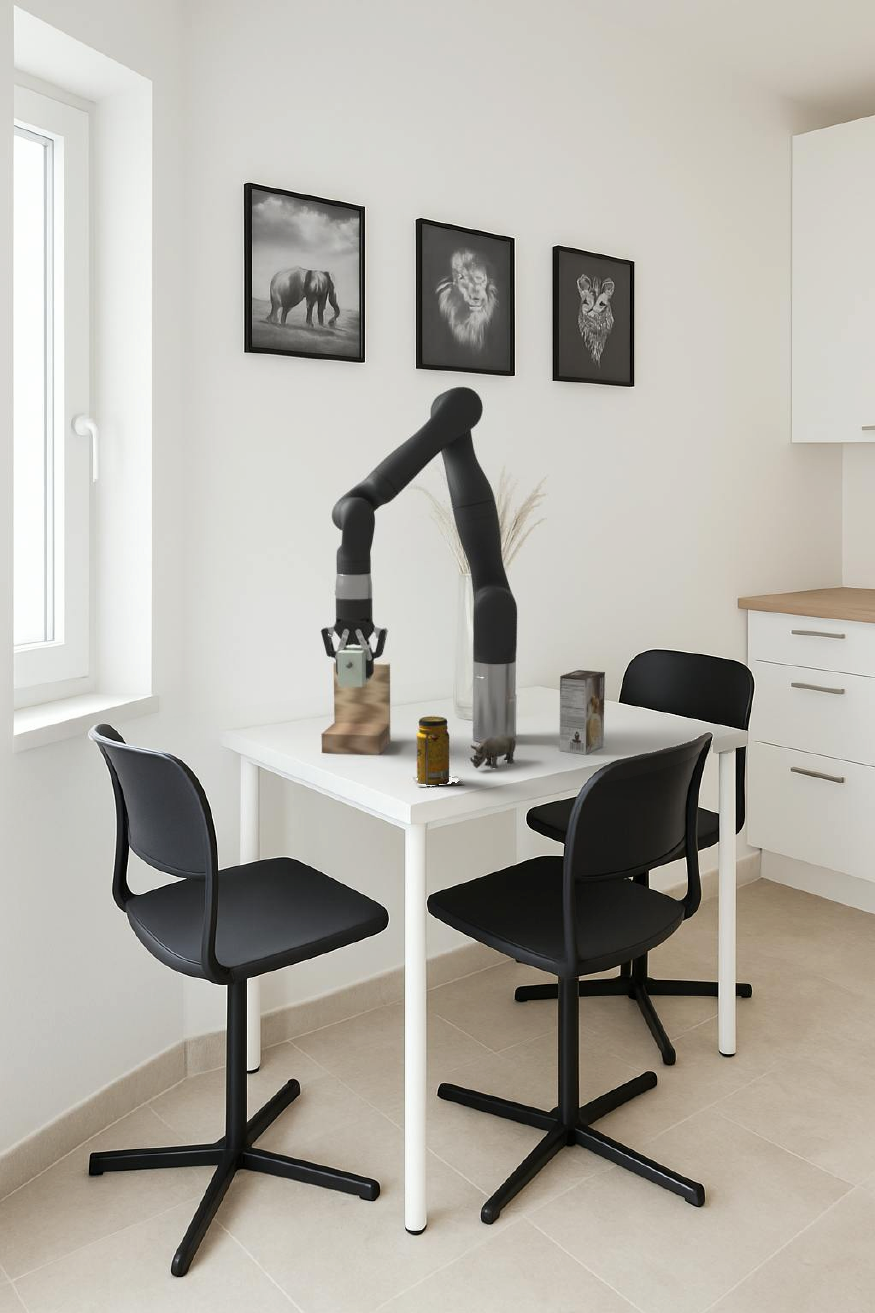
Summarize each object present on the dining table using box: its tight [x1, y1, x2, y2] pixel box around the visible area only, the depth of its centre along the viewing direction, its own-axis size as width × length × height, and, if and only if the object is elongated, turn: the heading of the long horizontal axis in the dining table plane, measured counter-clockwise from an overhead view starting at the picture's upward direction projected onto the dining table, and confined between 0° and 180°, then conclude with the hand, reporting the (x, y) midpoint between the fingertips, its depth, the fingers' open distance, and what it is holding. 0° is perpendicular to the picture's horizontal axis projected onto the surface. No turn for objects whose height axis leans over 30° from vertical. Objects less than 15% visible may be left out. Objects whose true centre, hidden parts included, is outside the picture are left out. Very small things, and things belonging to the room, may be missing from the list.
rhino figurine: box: [469, 733, 517, 769], centre depth 209 cm, size 4×14×6 cm, turn 139°
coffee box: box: [558, 669, 606, 756], centre depth 223 cm, size 9×6×16 cm
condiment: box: [412, 715, 465, 788], centre depth 198 cm, size 7×8×12 cm
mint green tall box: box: [337, 645, 372, 687], centre depth 221 cm, size 5×11×7 cm, turn 172°
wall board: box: [333, 661, 391, 743], centre depth 230 cm, size 12×2×17 cm, turn 82°
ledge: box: [321, 722, 390, 756], centre depth 225 cm, size 12×11×4 cm
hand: (354, 677), depth 222 cm, fingers closed on mint green tall box, 5 cm apart
